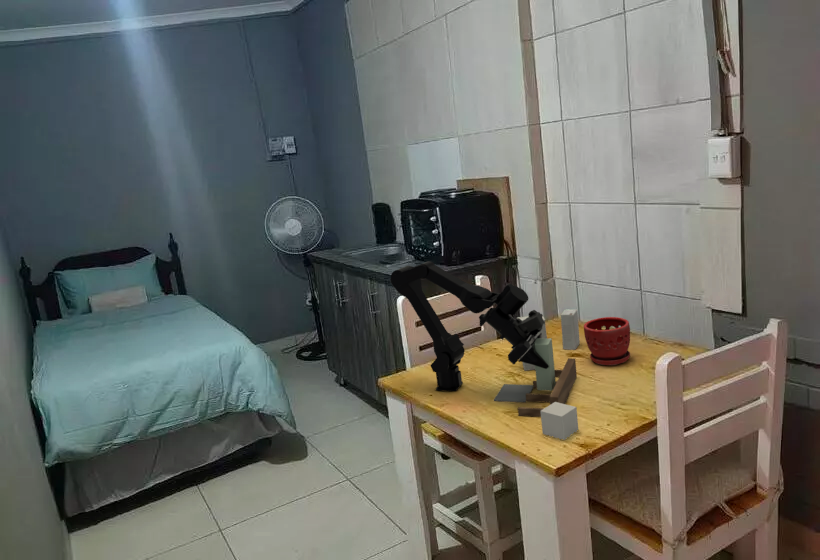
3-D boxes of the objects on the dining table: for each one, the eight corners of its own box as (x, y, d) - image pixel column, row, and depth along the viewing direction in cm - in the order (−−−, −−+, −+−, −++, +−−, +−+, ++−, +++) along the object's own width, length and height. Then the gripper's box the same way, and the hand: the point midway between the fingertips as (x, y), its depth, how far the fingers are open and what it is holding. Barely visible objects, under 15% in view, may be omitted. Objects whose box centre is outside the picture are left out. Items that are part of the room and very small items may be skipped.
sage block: (537, 390, 167) (532, 344, 164) (541, 382, 171) (537, 338, 169) (552, 390, 165) (548, 344, 163) (555, 383, 170) (551, 338, 167)
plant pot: (603, 350, 196) (600, 314, 194) (640, 357, 186) (638, 319, 183) (577, 363, 189) (574, 325, 186) (615, 371, 178) (612, 332, 176)
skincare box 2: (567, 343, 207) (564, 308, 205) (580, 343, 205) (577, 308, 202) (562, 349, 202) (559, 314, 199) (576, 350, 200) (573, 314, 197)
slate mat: (493, 401, 170) (493, 399, 170) (504, 385, 179) (504, 384, 179) (525, 402, 166) (525, 401, 166) (534, 386, 176) (534, 385, 176)
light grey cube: (557, 424, 151) (555, 401, 150) (578, 430, 147) (576, 406, 146) (542, 434, 148) (540, 410, 146) (563, 440, 143) (561, 416, 142)
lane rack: (518, 415, 159) (516, 395, 158) (540, 375, 183) (538, 358, 182) (559, 417, 154) (557, 397, 153) (576, 376, 178) (575, 358, 177)
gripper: (515, 314, 157) (563, 356, 155) (531, 295, 173) (575, 332, 171) (489, 344, 162) (534, 384, 160) (507, 322, 178) (549, 359, 176)
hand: (549, 364), depth 166 cm, fingers closed on sage block, 5 cm apart
